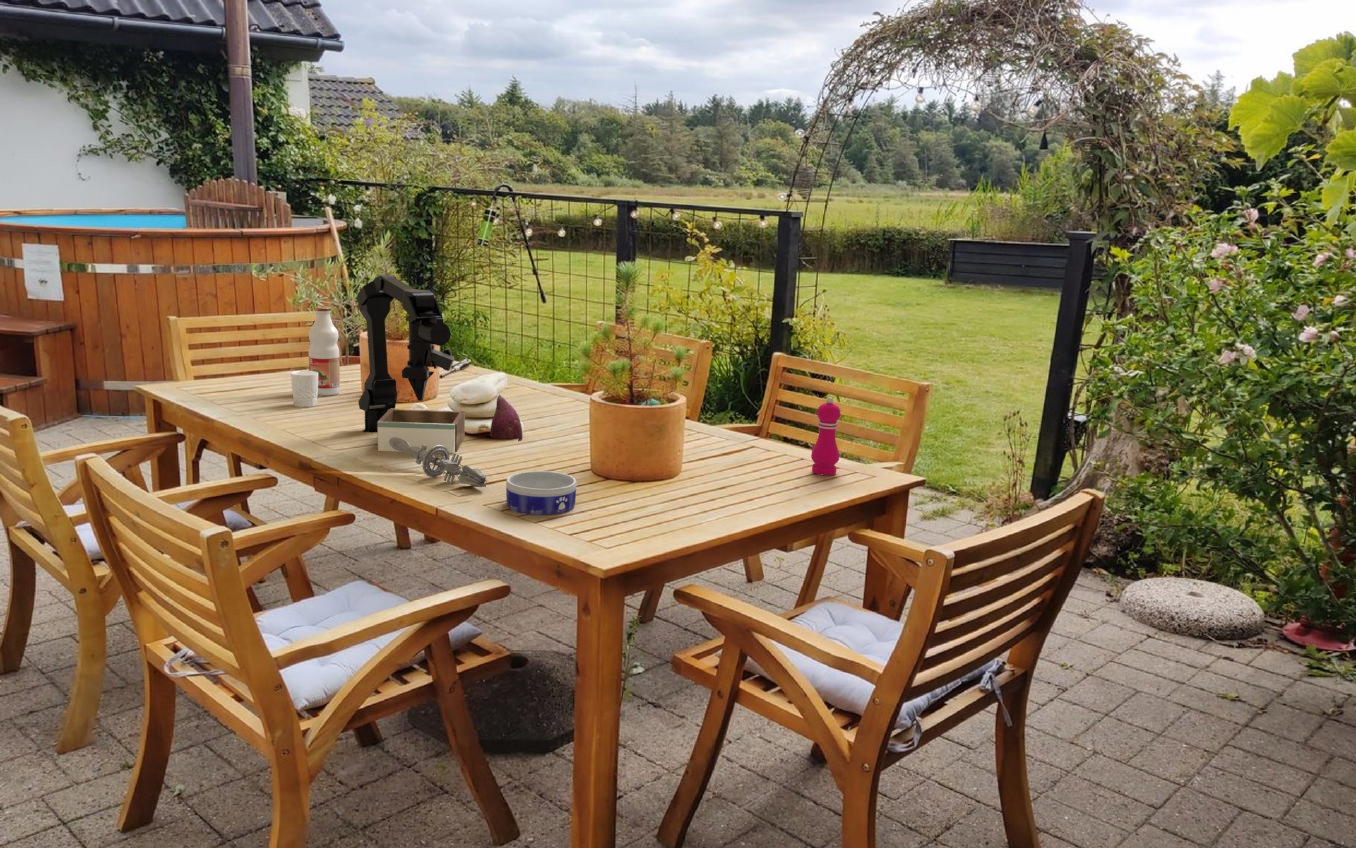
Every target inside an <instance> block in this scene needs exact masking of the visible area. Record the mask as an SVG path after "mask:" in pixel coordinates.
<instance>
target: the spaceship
mask: <svg viewBox="0 0 1356 848" xmlns="http://www.w3.org/2000/svg"><path fill="white" fill-rule="evenodd" d="M389 444H390V446H391V447H392V448H394V449H395V450H398V451H400V453H409V454H410V455H411V457H412V458H414V459H416V460H415V463H416V464H417V465H421V464H422V470H423V472H424V474H425V475H426V476H427V477H429V478H436V477H439V476H440V475H442V474H443V473H444V477H443V481H444V482H446V483H449V484H451V485H452V484H453V482H454V481H455V478H457V479H458V483H459V484H464V485H469V486H470V487H477V488H487V485H486V484H485V482H486V483H487V482H489V479H488V478H487V477H486V475H485V474H484V473H483V472H482V471H481V470H480V469H479V468H471V467H470V466H468V465H463V464H461V462H462V459H463V456H462V455H460V454H457V453H456V452H455V453H452V456H451V457H450V453H449V452H448V450H447V448H446V447H444V446H442V445H437V446H434V447H432V448H431V449H429V450H428V451H427V450H426V449H427V446H426V445H422V447H421V448H420V447H412V446H410V445H409V443H408V442H407V441H405V440H403V439H401V438H397V437H393V438H391V439H390V440H389ZM438 452H439V453H438ZM436 454H437V455H436ZM440 455H441V456H440ZM450 458H451V459H450Z"/></svg>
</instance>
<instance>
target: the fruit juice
mask: <svg viewBox="0 0 1356 848" xmlns="http://www.w3.org/2000/svg"><path fill="white" fill-rule="evenodd" d="M314 312H315V320H314V323H313V324H312V326H311V327H310V329H309V330H308V340H309V342H310V343H309V347H308V371H315V372H318V396H322V397H323V396H324V397H325V396H329V397H330V396H335V395H339V394H340V392H341V373H340V366H341V365H340V364H341V363H340V361H341V360H340V348H339V344H338V340H339V337H340V335H339V330H338V329H337V328H336V326H335V325H334V323H333V321H332V317H331V313H332V307H331V306H325V305H324V306H323V305H322V306H320V305H319V306H315V308H314Z"/></svg>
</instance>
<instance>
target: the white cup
mask: <svg viewBox="0 0 1356 848" xmlns="http://www.w3.org/2000/svg"><path fill="white" fill-rule="evenodd" d="M290 378H291V379H290V380H291V390H292V400H293V401H292V402H293V405H294V407H298V408H299V407H300V408H310V407H312V408H313V407H316V406H317V405H318V396H319V395H318V372H315V371H309V370H296V371H295V370H294V371H291V372H290Z"/></svg>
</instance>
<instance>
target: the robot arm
mask: <svg viewBox="0 0 1356 848" xmlns="http://www.w3.org/2000/svg"><path fill="white" fill-rule="evenodd" d="M356 300H357V303H358V309H359V310H358V311H359V312H360V314H361V315H362V317H364V319H365V322H366V331H367V333H366V334H367V350H368V363H369V374H368V376H367V378H366V380H365V382H364V390H363V392H362V394H361V396H360V398H359V399H358V401H357V402H358V407H359V410H362V411H364V429H363V431H362V432H363V433H378V432H377V422H378V421H379V420H380V419H381V418H382V417H383V415H384V414H385V413H386V412H387V411H388V410H389V409H396V405H397V401H398V390H397V381H396V379H395V378H392V375H390V373H389V366H388V365H389V364H388V350H387V349H388V348H387V332H386V319H387V317H388V316H389V313H390V312H391V303H392V302H393V301H394V300H396V301H398V302H400V303H401V304H402V305H401V307H402V309H403V310H404V311H405V312H406V313H407V314H408V315H407V316H406V317H405V319H404V320H405V321H406V322H408V344H407V348H406V349H407V350H408V360H407V365H405V367H403V369H402V370H401V379H407V380H408V382H409V384H410V386H411V389H412V390H413V393H414V394H415V397H416V399H417V401H418V402H419V401H420V402H422V401H423V400H424V398H425V397H424V396H425V392H426V389H427V383H428V381H429V379H430V377H432V375H433V374H434V373H435V371H430V368H433V369H438V368H441V369H442V370H444V371H447V372H448V371H450V370H451V369H452V366H453V364H454V362H455V356H454V355H453V354H452V350H450V349H448V348H445V349H444V350H443V351H441V350H436V349H435V346H444V345H446V344H447V343H448V342H449V341H450V339H451V330H450V328H449V326H448V325H447V324H445V323H444V318H443V315H442V314H443V311H442V308H441V307H440V305H439V303H438V300H437V298H436V295H435V294H434V292H432V290H431V291H429V290H425V289H416V288H414V287H412V286H411V285H409V284H407V283H405V282H403V281H402V280H400V279H398V278H397V277H396V276H394V275H391V274H389V275H388V274H387V275H385V274H382V275H381V274H380V275H378V276H376V277H375V278H374V279H373V280H372V281H369V282H368V283H367V284H365V285H363V286H362V287H361V289H360V290H359V291H358V293H357V296H356Z"/></svg>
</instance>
